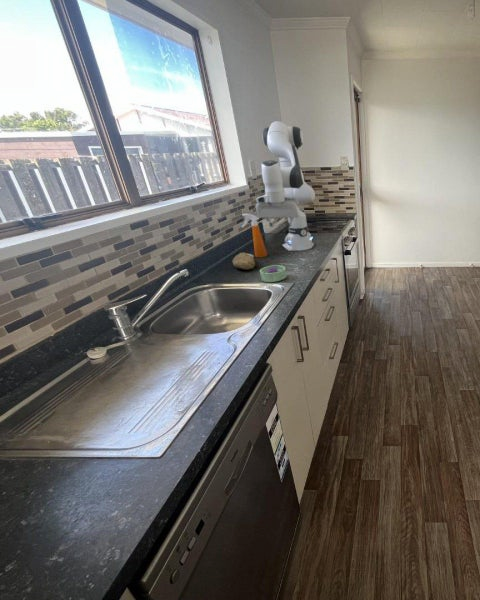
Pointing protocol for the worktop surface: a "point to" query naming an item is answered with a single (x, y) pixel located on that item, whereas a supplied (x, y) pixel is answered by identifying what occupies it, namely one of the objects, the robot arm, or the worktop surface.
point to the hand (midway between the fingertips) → (281, 226)
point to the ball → (272, 270)
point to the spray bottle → (256, 235)
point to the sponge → (244, 261)
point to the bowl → (273, 274)
